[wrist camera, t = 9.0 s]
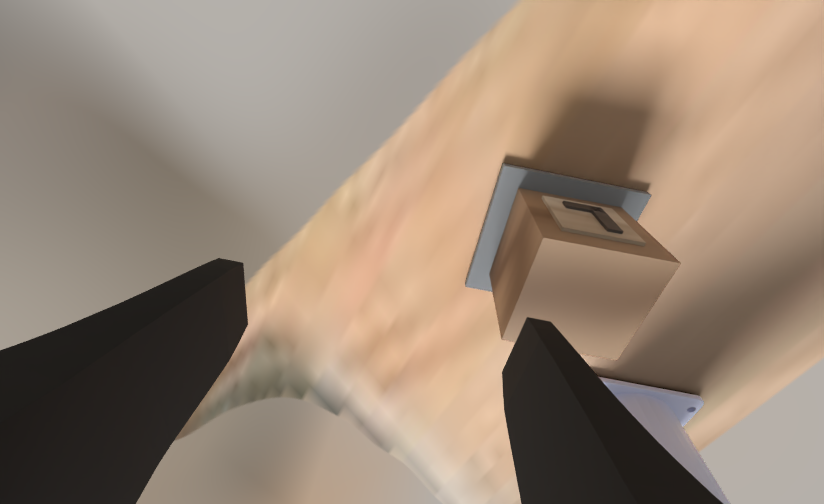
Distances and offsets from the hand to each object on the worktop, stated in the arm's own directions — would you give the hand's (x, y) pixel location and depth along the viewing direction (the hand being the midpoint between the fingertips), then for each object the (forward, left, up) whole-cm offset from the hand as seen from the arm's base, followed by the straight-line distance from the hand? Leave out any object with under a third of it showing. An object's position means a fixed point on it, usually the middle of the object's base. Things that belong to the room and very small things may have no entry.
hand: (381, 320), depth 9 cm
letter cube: (-1, -8, -10) cm, 12 cm away
